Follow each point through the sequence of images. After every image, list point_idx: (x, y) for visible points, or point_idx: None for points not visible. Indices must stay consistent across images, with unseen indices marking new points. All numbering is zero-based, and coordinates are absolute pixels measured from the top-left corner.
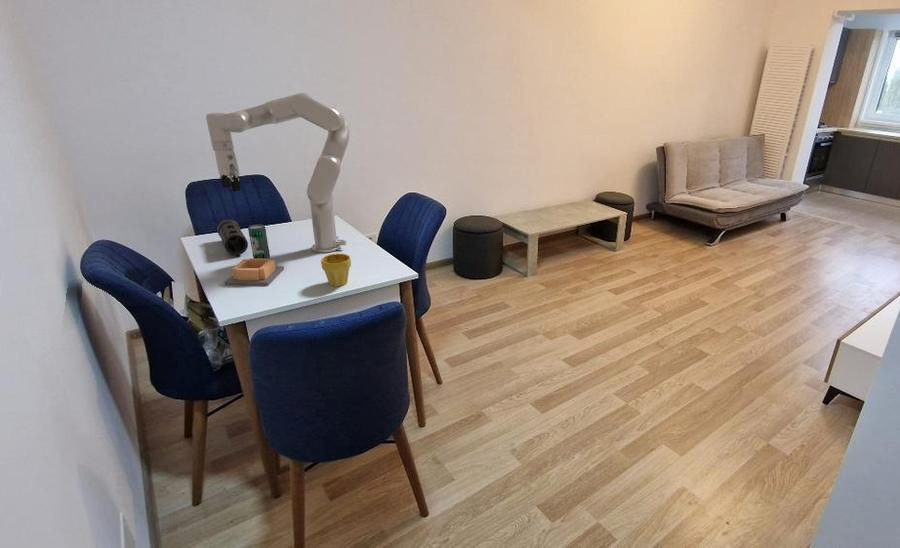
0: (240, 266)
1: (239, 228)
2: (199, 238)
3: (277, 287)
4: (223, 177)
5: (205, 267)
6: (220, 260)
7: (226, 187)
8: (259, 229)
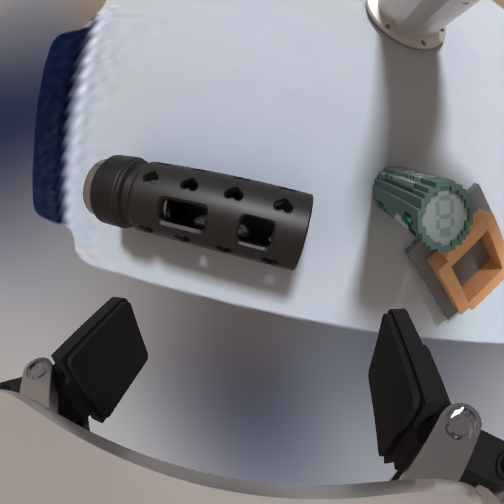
0: (464, 294)
1: (171, 174)
2: (85, 240)
3: None
4: (85, 412)
5: (316, 312)
6: None
7: (140, 336)
8: (470, 221)
